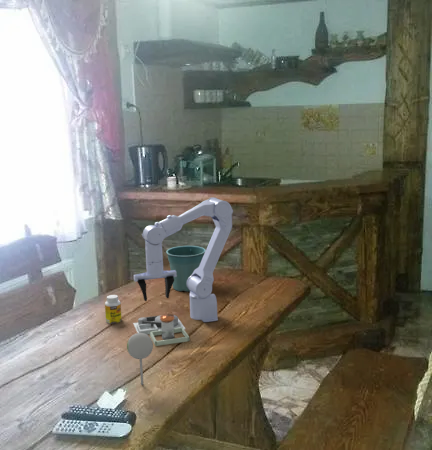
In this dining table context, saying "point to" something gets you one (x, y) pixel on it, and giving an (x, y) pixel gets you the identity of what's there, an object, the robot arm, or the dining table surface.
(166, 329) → the pin
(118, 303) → the supplement bottle
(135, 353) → the lollipop
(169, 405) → the dining table surface
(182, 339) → the tray
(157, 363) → the dining table surface
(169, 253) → the flower pot
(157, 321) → the pulley board
